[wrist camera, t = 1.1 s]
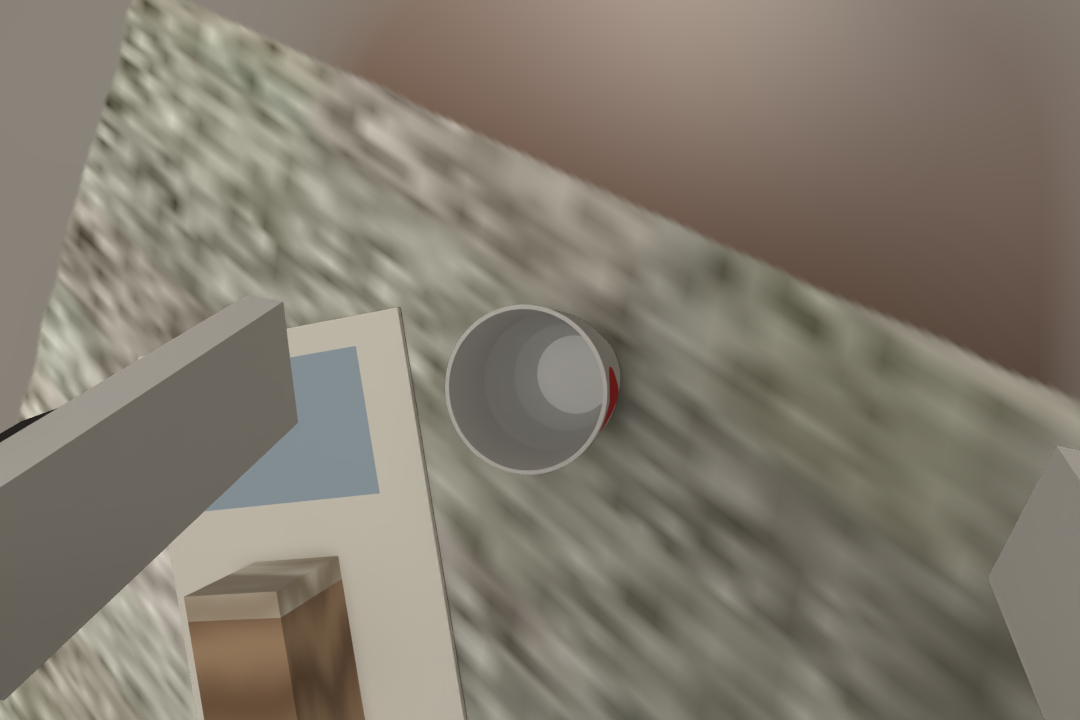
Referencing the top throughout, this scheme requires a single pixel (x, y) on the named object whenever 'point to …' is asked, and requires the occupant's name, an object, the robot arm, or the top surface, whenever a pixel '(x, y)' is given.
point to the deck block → (275, 643)
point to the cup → (531, 388)
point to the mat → (346, 515)
